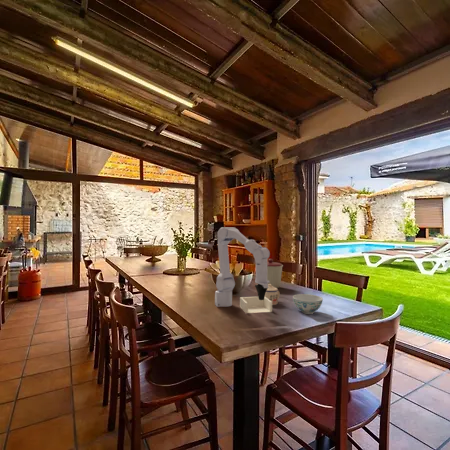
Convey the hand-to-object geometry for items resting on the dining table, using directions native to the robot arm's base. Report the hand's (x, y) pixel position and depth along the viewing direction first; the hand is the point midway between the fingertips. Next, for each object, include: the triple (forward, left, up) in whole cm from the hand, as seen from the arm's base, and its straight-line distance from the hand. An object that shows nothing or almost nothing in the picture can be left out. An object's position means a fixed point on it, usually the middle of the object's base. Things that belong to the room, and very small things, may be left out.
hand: (261, 299), depth 142 cm
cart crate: (0, +10, -8) cm, 13 cm away
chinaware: (+26, +3, -8) cm, 27 cm away
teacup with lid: (+13, +21, -8) cm, 26 cm away
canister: (+28, +64, -8) cm, 70 cm away
